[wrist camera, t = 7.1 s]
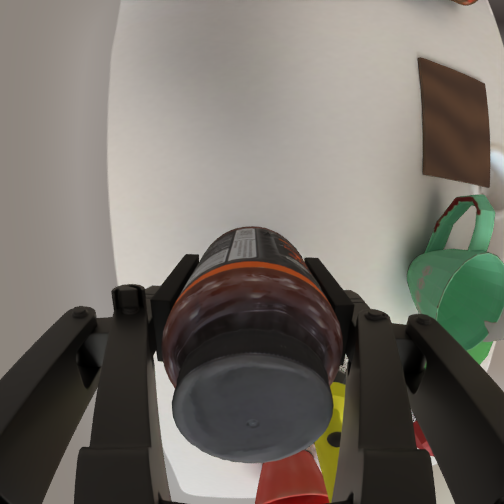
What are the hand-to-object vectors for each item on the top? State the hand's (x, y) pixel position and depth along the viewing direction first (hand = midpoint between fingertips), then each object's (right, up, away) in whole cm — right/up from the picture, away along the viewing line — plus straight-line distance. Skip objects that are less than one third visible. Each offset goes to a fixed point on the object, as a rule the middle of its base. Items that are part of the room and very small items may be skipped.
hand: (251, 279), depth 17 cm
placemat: (+24, +17, +9) cm, 31 cm away
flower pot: (+6, -31, +21) cm, 37 cm away
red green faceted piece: (+28, -16, +17) cm, 37 cm away
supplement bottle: (0, 0, 0) cm, 1 cm away
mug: (+20, +1, +13) cm, 24 cm away
